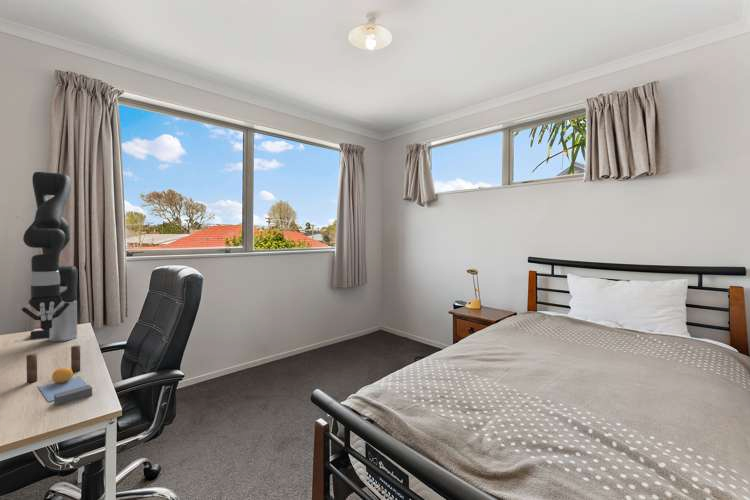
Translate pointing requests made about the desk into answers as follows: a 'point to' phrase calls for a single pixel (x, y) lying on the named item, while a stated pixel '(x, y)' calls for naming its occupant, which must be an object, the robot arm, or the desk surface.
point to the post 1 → (31, 368)
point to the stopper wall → (72, 395)
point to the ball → (62, 375)
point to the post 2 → (75, 358)
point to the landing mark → (61, 387)
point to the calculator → (39, 333)
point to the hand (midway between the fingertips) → (46, 329)
